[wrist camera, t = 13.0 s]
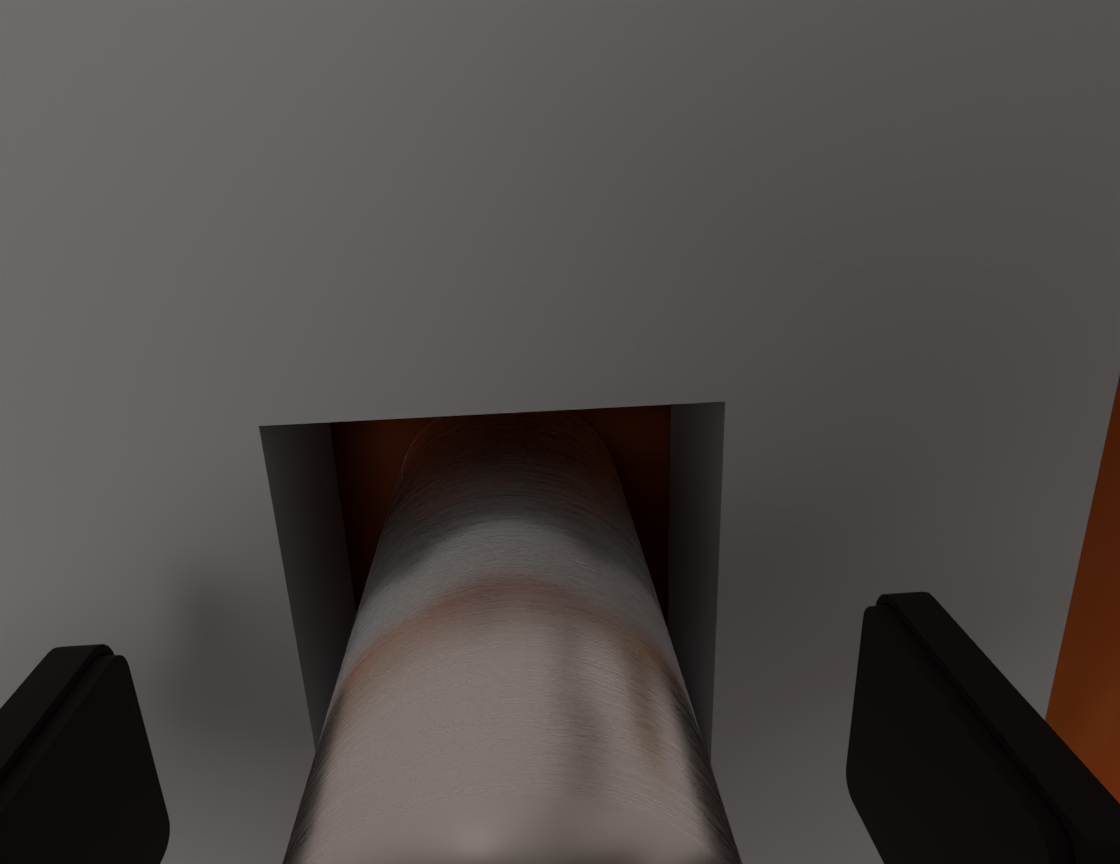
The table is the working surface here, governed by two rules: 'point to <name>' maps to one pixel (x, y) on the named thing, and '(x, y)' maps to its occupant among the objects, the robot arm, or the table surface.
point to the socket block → (551, 339)
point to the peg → (510, 672)
